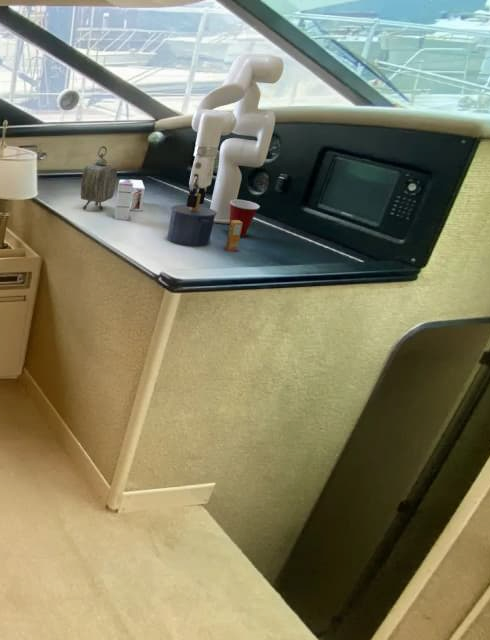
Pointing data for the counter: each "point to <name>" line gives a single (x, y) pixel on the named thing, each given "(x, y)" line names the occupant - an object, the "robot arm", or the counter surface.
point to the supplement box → (234, 235)
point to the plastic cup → (243, 213)
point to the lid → (194, 210)
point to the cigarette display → (137, 195)
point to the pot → (190, 229)
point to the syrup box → (124, 199)
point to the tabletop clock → (98, 181)
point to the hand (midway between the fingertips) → (194, 204)
